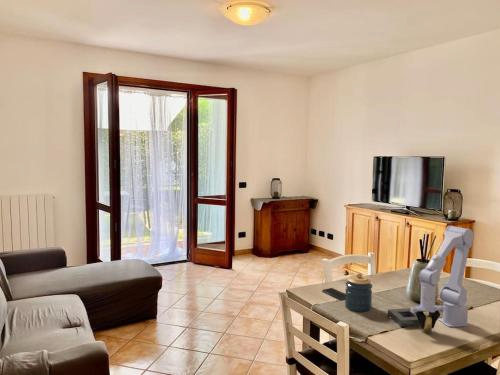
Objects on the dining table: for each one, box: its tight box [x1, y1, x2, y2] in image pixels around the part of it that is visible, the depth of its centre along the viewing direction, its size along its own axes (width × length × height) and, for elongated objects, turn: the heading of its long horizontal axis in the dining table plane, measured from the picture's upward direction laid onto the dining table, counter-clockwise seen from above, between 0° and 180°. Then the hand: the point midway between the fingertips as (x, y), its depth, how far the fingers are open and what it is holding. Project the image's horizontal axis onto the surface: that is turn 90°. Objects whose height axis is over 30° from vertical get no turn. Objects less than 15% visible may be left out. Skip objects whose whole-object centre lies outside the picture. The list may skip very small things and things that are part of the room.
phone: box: [321, 287, 346, 301], centre depth 206 cm, size 8×1×15 cm
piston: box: [420, 313, 433, 334], centre depth 163 cm, size 4×4×7 cm
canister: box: [344, 272, 373, 313], centre depth 188 cm, size 13×13×18 cm
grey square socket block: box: [387, 307, 420, 328], centre depth 174 cm, size 12×12×3 cm
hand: (426, 327), depth 163 cm, fingers closed on piston, 4 cm apart
